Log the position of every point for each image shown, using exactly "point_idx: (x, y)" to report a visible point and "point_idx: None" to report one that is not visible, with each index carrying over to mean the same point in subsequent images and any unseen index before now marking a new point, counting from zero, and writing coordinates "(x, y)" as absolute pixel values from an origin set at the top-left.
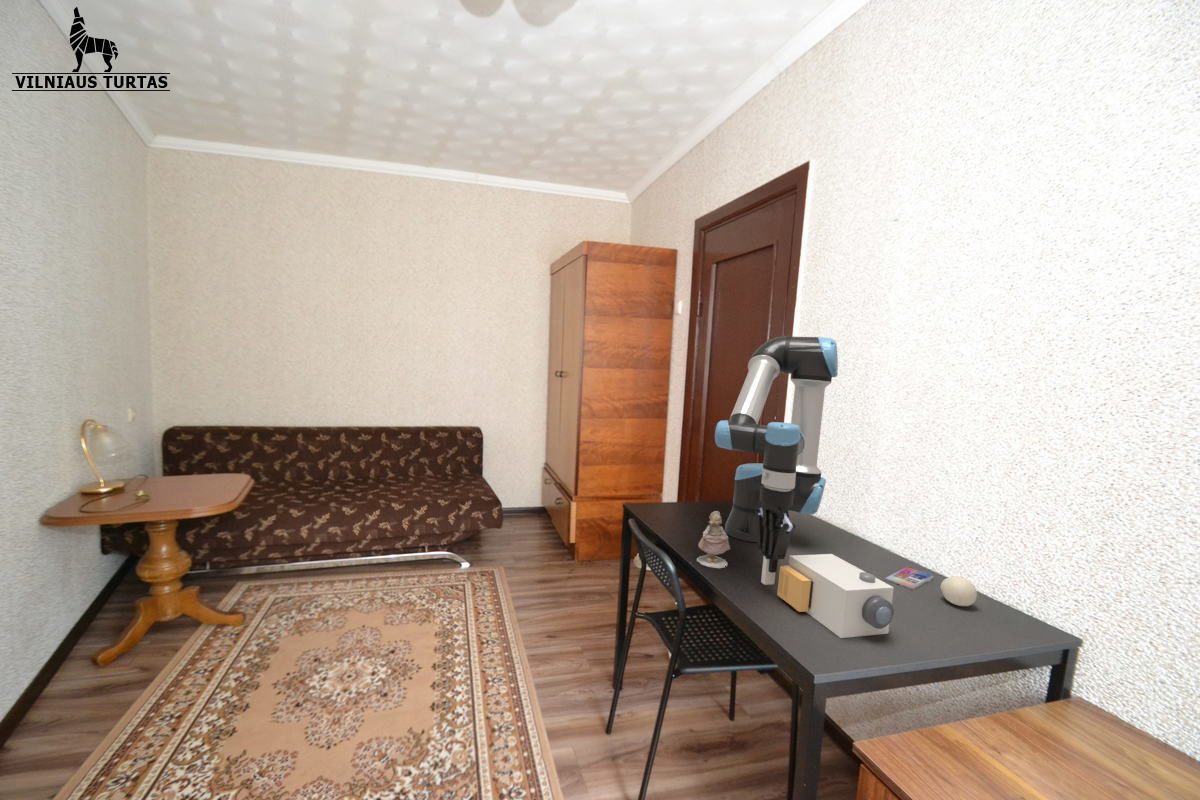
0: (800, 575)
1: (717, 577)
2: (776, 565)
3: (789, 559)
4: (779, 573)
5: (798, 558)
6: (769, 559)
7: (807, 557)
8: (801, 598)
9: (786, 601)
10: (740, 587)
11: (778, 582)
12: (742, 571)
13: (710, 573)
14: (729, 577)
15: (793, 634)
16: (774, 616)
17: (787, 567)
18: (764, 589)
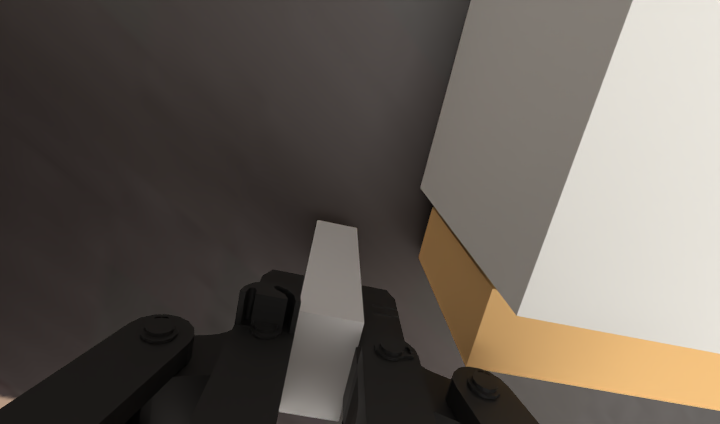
0: (684, 351)
1: None
2: (398, 329)
3: (504, 293)
4: (449, 326)
5: (633, 280)
6: (344, 390)
7: (682, 119)
8: None
9: None
10: None
11: (433, 290)
12: (52, 175)
13: None
14: (122, 313)
15: (661, 421)
16: (533, 390)
17: (519, 329)
18: (309, 234)
